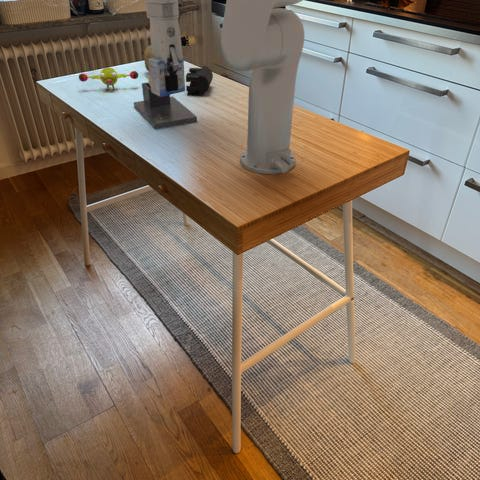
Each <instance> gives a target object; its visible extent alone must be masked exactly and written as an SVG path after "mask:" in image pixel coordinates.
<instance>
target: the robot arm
mask: <svg viewBox="0 0 480 480" xmlns="http://www.w3.org/2000/svg"><path fill="white" fill-rule="evenodd" d="M303 1H304V0H226V2H225V9H224V13H223V15H224V16H223V21H222V28H221V35H220V36H221V37H220V38H221V39H220V42H221V44H220V46H221V51H222V54H223V57H224V60H225V61H226V63H227V64H228V66H229V67H230V68H232V69H234V70H237V71H239V72H248V71H251V73H250V74H251V75H250V76H249V77H250V78H249V84H248V85H249V86H248V106H247V107H248V110H247V111H248V113H247V141H246V143H247V144H246V145H247V147H246V149H244V150H243V152H241V154H240V156H239V159H240V160H239V161H240V164H241V165H242V167H243V168H245V169H246V170H248V171H250V172H252V173H253V172H254V173H257V174H263V175H267V174H268V175H277V174H282V173H283V174H285V173H288V172H289V171H290V170H292V169H293V167H295V165H296V157H295V155H294V154H293V153H292V152H291V151H292V149H290V146H291V136H292V125H293V113H294V101H295V92H296V81H297V73H298V69H299V64H300V60H301V56H302V53H303V50H304V44H305V27H304V24H303V21H302V20H301V18H300V17H299V15H298V14H297V13H295V12H294V11H292V10H290V9H288V8H284V7H288V6H292V5H296V4H297V5H298V3H301V2H303ZM282 7H283V8H282ZM145 10H146V18H148V19H149V30H150V31H149V32H150V45H151V46H152V52H153V55H154V56H155V58H158V59H160V60H161V61H162V62H163V63H164V64H165V71H166V75H165V86H166V91H167V92H169V91H176V90H178V71H177V70H178V67H179V63H178V62H181V61H182V59H183V58H184V57H183V47H182V39H181V38H182V36H181V29H180V24H179V23H180V22H179V19H178V18H179V14H180V13H179V10H180V9H179V0H145ZM182 57H183V58H182ZM169 59H171V61H172V62H168V61H167V60H169ZM170 64H172V66H170V67H169V68H168V65H170Z"/></svg>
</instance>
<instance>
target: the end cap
mask: <svg viewBox="0 0 480 480" xmlns="http://www.w3.org/2000/svg"><path fill="white" fill-rule="evenodd" d="M213 78H214V75H213V71H212V69H211V68H210V67H208V66H206V65H202V67H199V68H198V67H189V69H188V72H187V73H186V75H185V82H186V83H189V85H185V91H186V96H188V97H203V95H205V94H206V93H207V92H208V90H209V89H210V86H211V84H212V81H213Z"/></svg>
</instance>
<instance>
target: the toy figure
mask: <svg viewBox="0 0 480 480" xmlns="http://www.w3.org/2000/svg"><path fill="white" fill-rule="evenodd" d="M127 77H130V78H131V79H132V80H137V79H138V77H139V73H138V72H137V71H136V70H132V71H131V72H130V73H129V74H126V73H122V74H120V73H117V72H116V70H115V69H113V68H111V67H105V68H103V69H102V70H101V71H100V74H98V75H94V74H93V75H91V76H88V74H86V73H80V74H79V75H78V80H79V81H81V83H83V82H87V80H88V79H92V80H96V79H97V80H101V82H102V83H103V84H104V85H106V90H107V91H108V92H109V91H110V86H112V87H111V88H112V91H115V84H116V83H117V82H118V80H119V79H121V78H124V79H125V78H127Z"/></svg>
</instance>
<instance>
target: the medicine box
mask: <svg viewBox="0 0 480 480" xmlns="http://www.w3.org/2000/svg"><path fill="white" fill-rule="evenodd" d="M182 58H183V59H182V61H181V62H178V63H179V67H178V70H177V71H178V90H176V91H169V92H167V91H166V86H165V75H166V71H165V64H164V63H163V62H162V61H161V60H160V59H158V58H151V59H148V62H149V75H150V82H151V92H152V93H154V94H156V95H158V96H160V97H162V96H167V95H170V96H171V95H176V94H179V93H182V92H185V91H186V83H185V82H186V77H185V61H184V60H185V59H184V57H183V56H182ZM167 61H168V62H172V61H171V59H169V60H167ZM170 66H172V64H170V65H168V68H169V67H170Z"/></svg>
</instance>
